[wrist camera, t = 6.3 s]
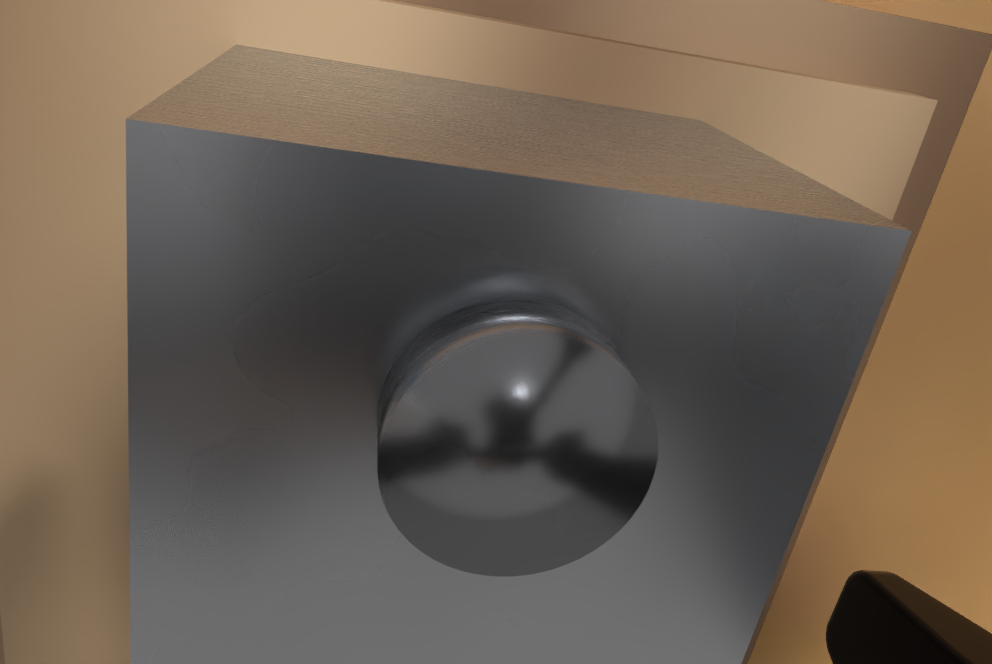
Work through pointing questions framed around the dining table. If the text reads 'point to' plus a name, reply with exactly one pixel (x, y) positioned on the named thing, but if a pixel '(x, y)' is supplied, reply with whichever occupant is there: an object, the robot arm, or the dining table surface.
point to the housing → (470, 370)
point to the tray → (402, 47)
